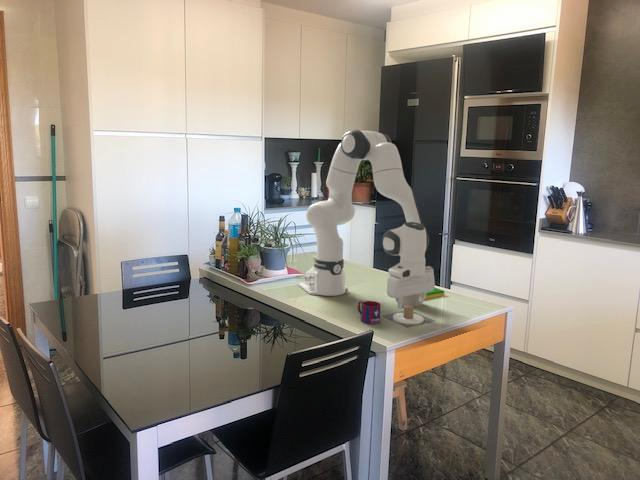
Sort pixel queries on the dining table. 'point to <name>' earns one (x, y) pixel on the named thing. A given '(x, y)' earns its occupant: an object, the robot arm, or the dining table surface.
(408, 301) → the travel mug
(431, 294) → the dish sponge
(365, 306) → the cup
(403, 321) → the cover lid
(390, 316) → the drying mat
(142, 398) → the dining table surface
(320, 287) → the robot arm
